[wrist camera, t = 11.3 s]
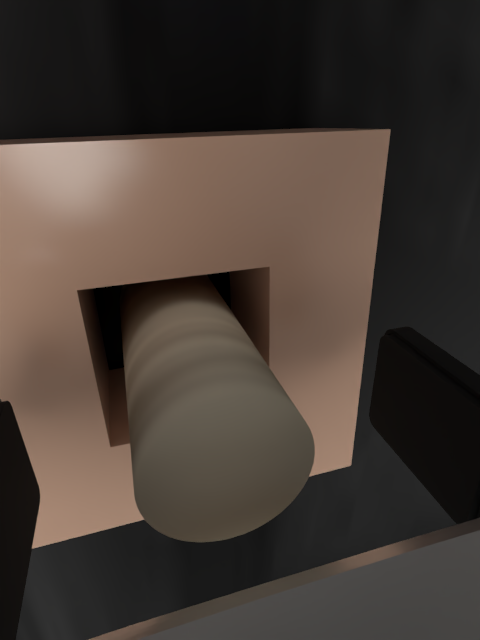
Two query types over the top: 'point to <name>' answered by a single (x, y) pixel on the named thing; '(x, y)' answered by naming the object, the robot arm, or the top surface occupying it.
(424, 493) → the top surface
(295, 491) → the peg
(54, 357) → the socket
